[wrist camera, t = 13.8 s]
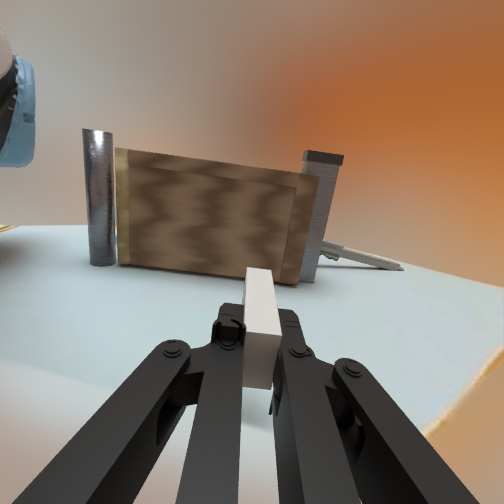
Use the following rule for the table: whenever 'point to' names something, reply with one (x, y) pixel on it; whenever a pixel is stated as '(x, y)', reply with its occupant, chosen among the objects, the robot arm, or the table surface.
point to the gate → (211, 215)
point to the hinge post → (100, 196)
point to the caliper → (355, 256)
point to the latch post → (318, 206)
